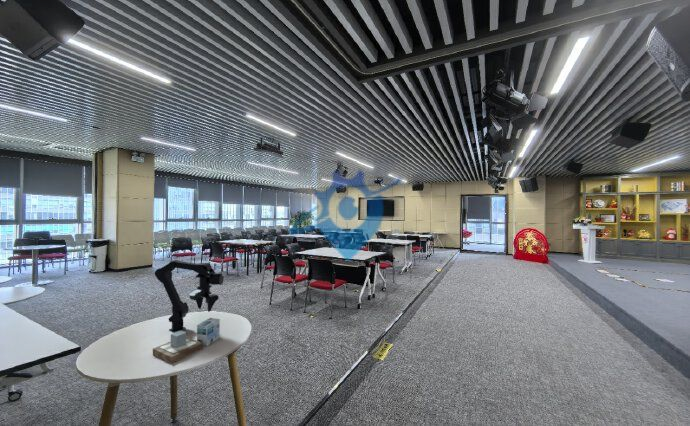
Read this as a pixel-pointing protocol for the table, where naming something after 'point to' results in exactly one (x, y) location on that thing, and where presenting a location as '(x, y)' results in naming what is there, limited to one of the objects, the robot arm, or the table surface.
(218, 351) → the table surface
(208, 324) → the light bulb box
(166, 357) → the walnut base
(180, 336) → the grey block
